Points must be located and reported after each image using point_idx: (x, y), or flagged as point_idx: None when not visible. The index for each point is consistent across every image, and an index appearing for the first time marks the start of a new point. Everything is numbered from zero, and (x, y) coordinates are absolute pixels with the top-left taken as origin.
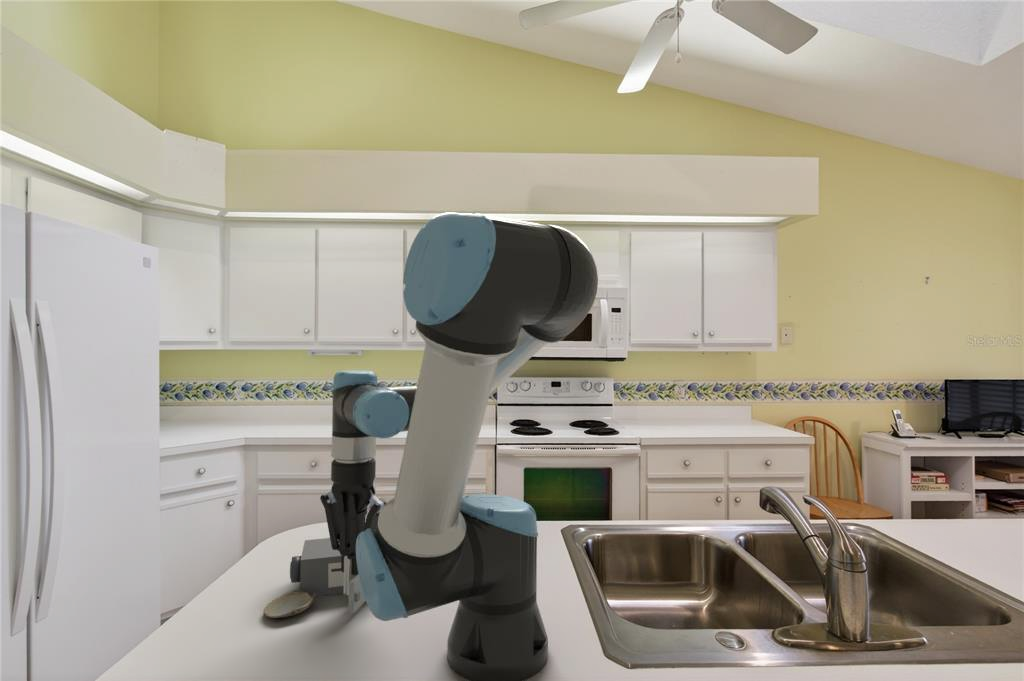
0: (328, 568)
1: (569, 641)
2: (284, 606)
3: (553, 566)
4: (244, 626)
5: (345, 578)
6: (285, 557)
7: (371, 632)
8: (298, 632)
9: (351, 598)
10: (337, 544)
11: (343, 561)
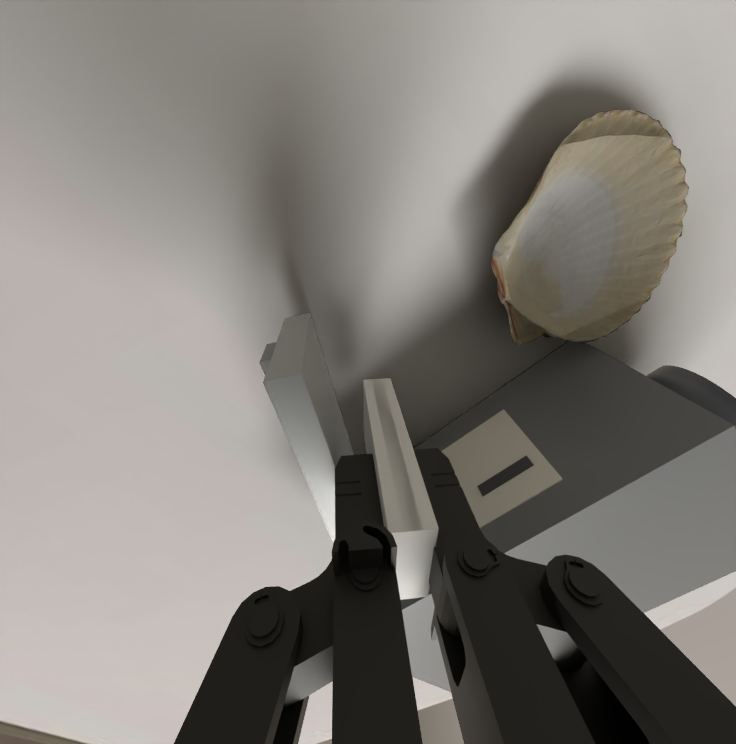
0: (547, 461)
1: None
2: (605, 257)
3: (45, 707)
4: (711, 28)
5: (393, 422)
6: None
7: (133, 257)
8: (428, 103)
9: (291, 339)
10: (566, 620)
11: (448, 500)
